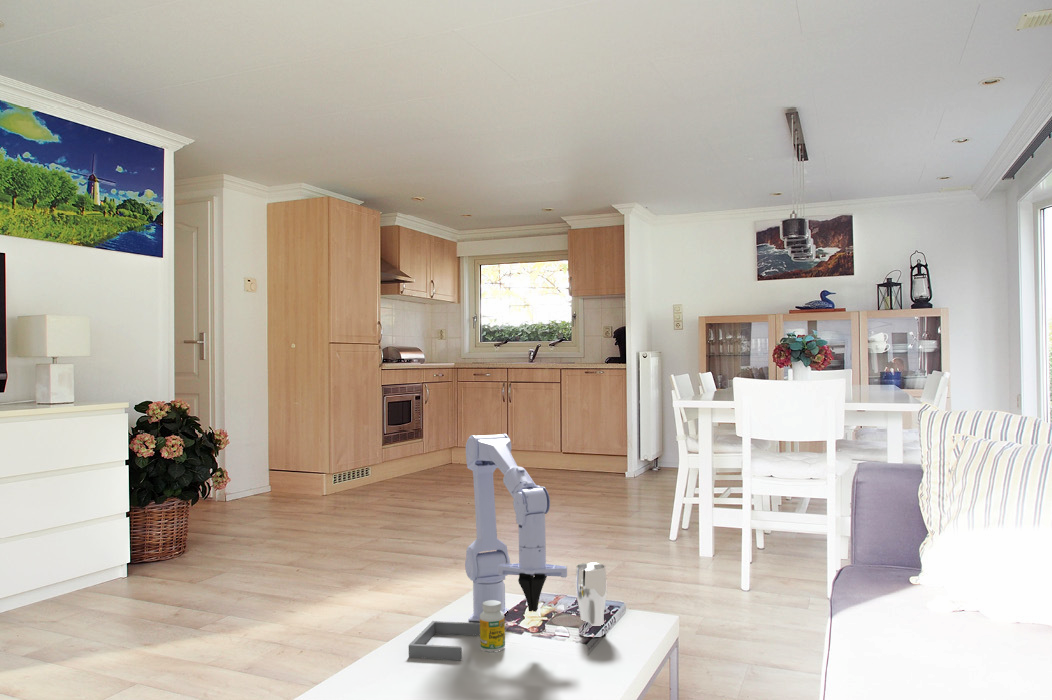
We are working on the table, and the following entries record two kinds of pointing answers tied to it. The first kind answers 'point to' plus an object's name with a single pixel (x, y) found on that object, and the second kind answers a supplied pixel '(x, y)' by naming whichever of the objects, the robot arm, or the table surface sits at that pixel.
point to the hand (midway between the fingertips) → (533, 610)
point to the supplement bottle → (492, 626)
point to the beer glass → (591, 592)
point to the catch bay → (437, 651)
